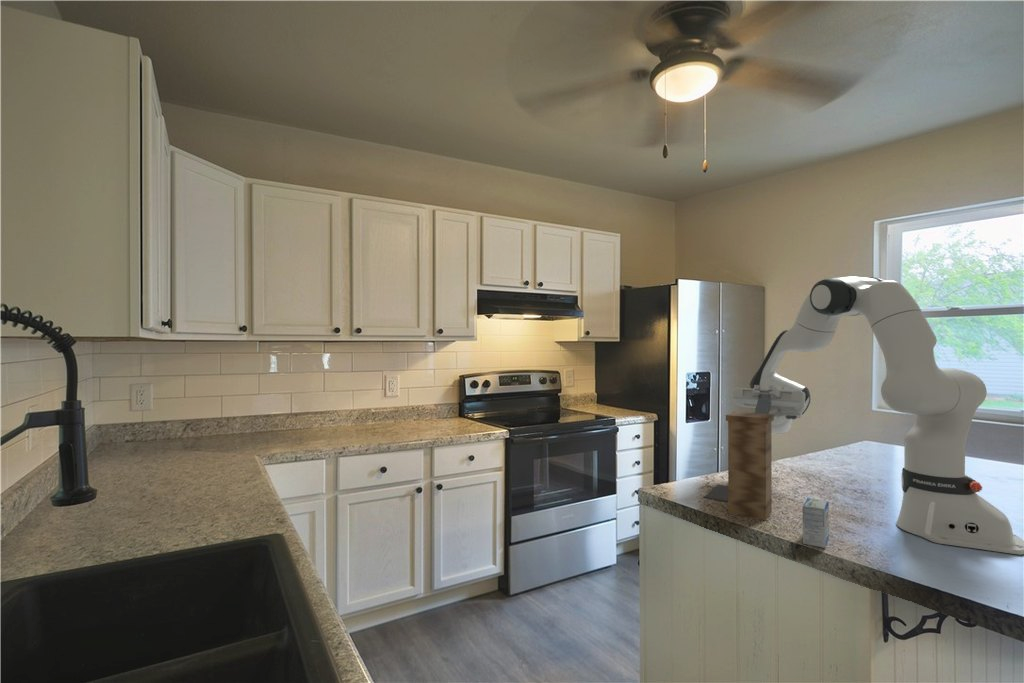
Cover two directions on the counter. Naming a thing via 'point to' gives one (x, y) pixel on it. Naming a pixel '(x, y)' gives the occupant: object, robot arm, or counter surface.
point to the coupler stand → (749, 464)
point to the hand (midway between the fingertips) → (763, 387)
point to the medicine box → (815, 522)
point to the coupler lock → (763, 404)
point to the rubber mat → (718, 493)
